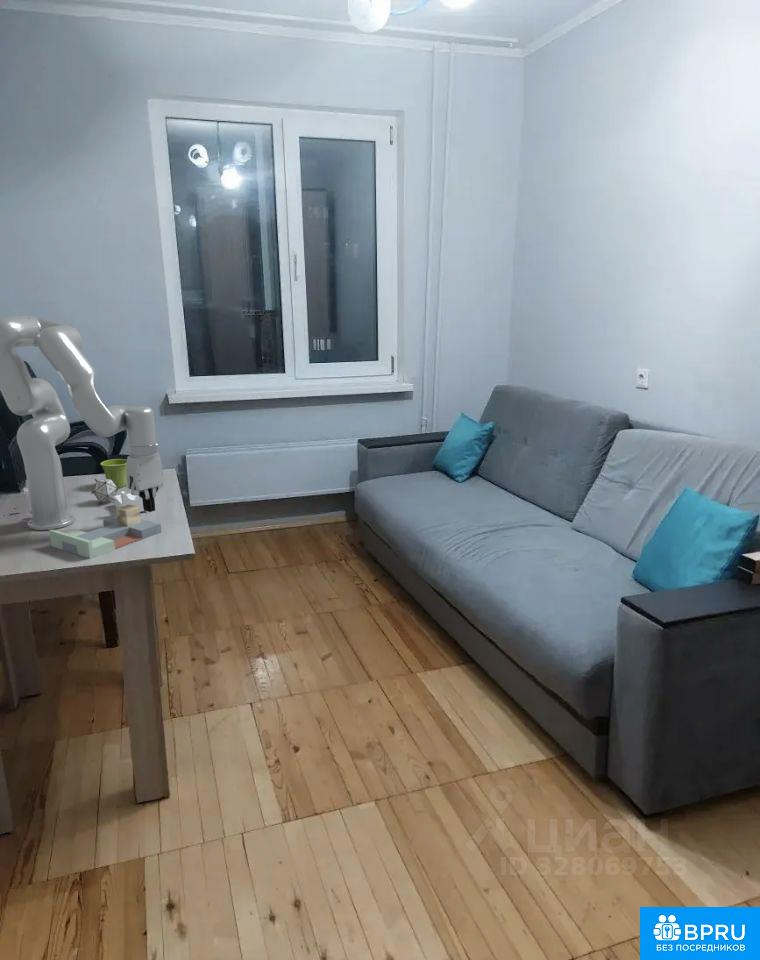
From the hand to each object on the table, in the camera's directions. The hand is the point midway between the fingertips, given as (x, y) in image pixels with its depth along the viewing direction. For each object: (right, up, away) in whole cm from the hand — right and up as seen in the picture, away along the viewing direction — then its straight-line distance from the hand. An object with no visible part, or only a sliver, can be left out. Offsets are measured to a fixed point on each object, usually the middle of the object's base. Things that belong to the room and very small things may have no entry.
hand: (149, 510), depth 202 cm
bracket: (-11, -1, +15) cm, 18 cm away
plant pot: (-25, +7, +40) cm, 47 cm away
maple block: (-4, -3, -6) cm, 8 cm away
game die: (-21, +2, +22) cm, 30 cm away
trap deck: (-8, -7, -11) cm, 15 cm away
